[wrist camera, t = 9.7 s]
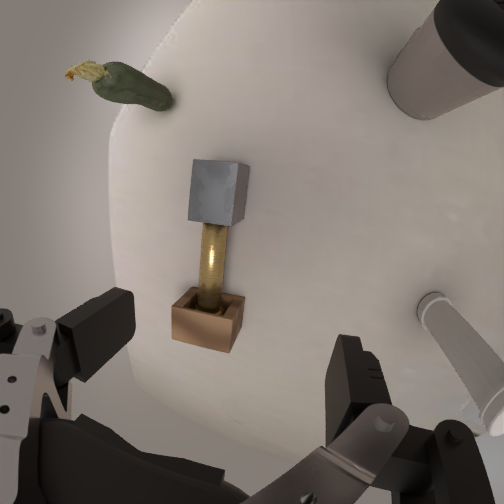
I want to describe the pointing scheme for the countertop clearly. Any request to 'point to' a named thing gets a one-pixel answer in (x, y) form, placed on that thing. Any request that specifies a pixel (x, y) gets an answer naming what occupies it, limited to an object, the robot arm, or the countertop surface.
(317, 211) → the countertop surface
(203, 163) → the sleeve
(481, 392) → the pipe
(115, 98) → the vegetable
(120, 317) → the robot arm
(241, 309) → the socket
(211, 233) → the tube
